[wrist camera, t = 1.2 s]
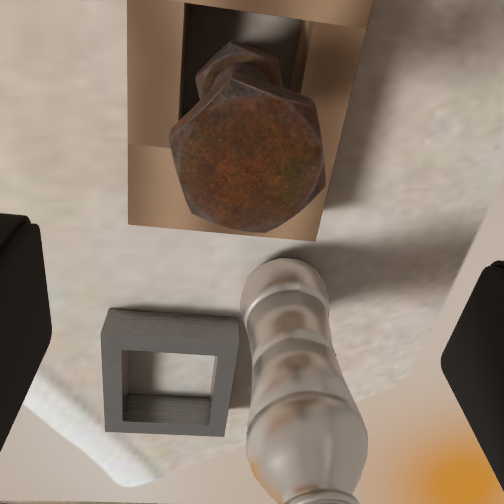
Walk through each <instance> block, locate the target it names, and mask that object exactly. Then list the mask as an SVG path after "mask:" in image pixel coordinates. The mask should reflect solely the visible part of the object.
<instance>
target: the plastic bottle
mask: <svg viewBox="0 0 504 504" xmlns="http://www.w3.org/2000/svg"><path fill="white" fill-rule="evenodd" d="M240 310H241V314H242V319H243V322H244V326H245V329H246V331H247V334H248V340H249V346H250V352H251V358H252V394H251V403H250V411H249V419H248V427H247V428H248V430H247V441H246V455H247V458H248V461H249V463H250V466H251V469H252V472H253V474H254V476H255V478H256V479H257V480H258V482H259V483H260V484H261V485H262V487H263V488H264V489H265V490H266V492H267V493H268V494H269V495H270V496H271V497H272V498H273V499H274V500H275V501H276V502H277V503H278V504H359V502H358V500H357V499H356V498H355V497H354V496H353V495H352V494H353V492H354V490H355V488H356V485H357V483H358V481H359V479H360V477H361V474H362V471H363V468H364V465H365V462H366V458H367V448H368V447H367V446H368V436H367V430H366V427H365V425H364V422H363V419H362V417H361V414H360V412H359V410H358V408H357V406H356V404H355V402H354V400H353V397H352V395H351V393H350V391H349V389H348V387H347V385H346V383H345V380H344V378H343V375H342V372H341V369H340V366H339V363H338V360H337V358H336V354H335V351H334V348H333V345H332V339H331V332H330V326H329V299H328V291H327V288H326V285H325V283H324V282H323V280H322V278H321V277H320V275H319V274H318V272H317V271H316V270H315V269H314V268H313V267H312V266H311V265H309V264H307V263H306V262H304V261H300V260H297V259H290V258H279V259H275V260H271V261H269V262H266V263H265V264H263V265H261V266H260V267H258V268H257V269H255V270H254V271H253V272H252V273H251V274H250V275H249V277H248V278H247V280H246V282H245V284H244V287H243V291H242V296H241V300H240Z"/></svg>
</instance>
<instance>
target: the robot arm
mask: <svg viewBox="0 0 504 504" xmlns="http://www.w3.org/2000/svg"><path fill="white" fill-rule="evenodd" d="M51 334H52V324H51V316H50V308H49V300H48V292H47V283H46V275H45V267H44V259H43V251H42V242H41V234H40V228H39V226H38V225H37V224H31V222H30V220H29V218H28V217H27V216H24V215H13V214H3V213H0V451H1V449H2V447H3V445H4V443H5V440H6V438H7V436H8V434H9V431H10V429H11V427H12V425H13V423H14V421H15V418H16V416H17V414H18V412H19V410H20V407H21V405H22V403H23V401H24V399H25V396H26V394H27V392H28V390H29V388H30V385H31V383H32V381H33V379H34V377H35V374H36V372H37V370H38V368H39V366H40V363H41V361H42V359H43V357H44V355H45V353H46V350H47V348H48V346H49V343H50V340H51ZM441 368H442V371H443V373H444V375H445V377H446V379H447V381H448V383H449V385H450V387H451V389H452V391H453V393H454V394H455V397H456V398H457V401H458V402H459V404H460V406H461V408H462V410H463V412H464V414H465V416H466V418H467V420H468V422H469V424H470V426H471V428H472V430H473V432H474V434H475V436H476V438H477V440H478V442H479V444H480V446H481V448H482V450H483V452H484V454H485V455H486V457H487V459H488V461H489V463H490V465H491V467H492V469H493V471H494V473H495V475H496V477H497V479H498V481H499V483H500V485H501V487H502V489H503V491H504V261H499V260H498V261H495V262H494V263H492V264H491V266H488V267H486V268H485V269H484V270H483V271H482V273H481V275H480V277H479V279H478V281H477V283H476V285H475V287H474V289H473V292H472V294H471V296H470V298H469V300H468V302H467V304H466V306H465V308H464V310H463V312H462V314H461V316H460V319H459V321H458V322H457V325H456V327H455V329H454V331H453V333H452V335H451V337H450V339H449V341H448V343H447V345H446V347H445V350H444V352H443V354H442V357H441ZM0 504H155V503H118V502H117V503H116V502H115V503H114V502H73V501H71V502H70V501H0Z"/></svg>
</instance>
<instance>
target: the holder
mask: <svg viewBox="0 0 504 504" xmlns="http://www.w3.org/2000/svg"><path fill="white" fill-rule="evenodd" d="M238 348H239V323H238V318H234V317H220V316H206V315H192V314H178V313H164V312H150V311H136V310H122V309H109V310H108V313H107V316H106V319H105V322H104V325H103V328H102V331H101V352H102V373H103V394H104V415H105V432H124V433H147V434H171V435H194V436H218V437H224V434H225V428H226V422H227V416H228V410H229V403H230V397H231V391H232V385H233V379H234V372H235V366H236V360H237V354H238ZM128 350H133V351H149V352H165V353H181V354H198V355H214V356H215V362H214V370H213V377H212V385H211V393H210V398H195V397H175V396H156V395H136V394H128Z"/></svg>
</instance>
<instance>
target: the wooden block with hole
mask: <svg viewBox="0 0 504 504" xmlns="http://www.w3.org/2000/svg"><path fill="white" fill-rule="evenodd" d="M189 3H192V4H198V5H205V6H212V7H219V8H226V9H233V10H239V11H246V12H253V13H260V14H267V15H274V16H280V17H287V18H294V19H301V20H302V21H301V27H300V32H299V38H298V44H297V50H296V56H295V61H294V67H293V73H292V79H291V85H290V91H292V92H295V93H298V94H301V95H304V96H307V97H310V98H312V100H313V102H314V104H315V105H316V108H317V114H318V119H319V124H320V130H321V137H322V144H323V153H324V162H325V171H326V186H325V188H324V189H323V190H322V191H321V192H320V193H319V194H318V195H317V196H316V198H315V199H314V200H313V201H312V202H311V203H310V204H308V205H307V206H306V207H305V208H304V209H303V210H302V211H301V212H299V213H298V214H297V215H295V216H294V217H292V218H291V219H290V220H288V221H287V222H285V223H284V224H282V225H281V226H279V227H277V228H275V229H273V230H271V231H269V232H267V233H251V232H244V231H239V230H234V229H230V228H226V227H222V226H219V225H216V224H214V223H211V222H209V221H206V220H204V219H202V218H200V217H198V216H196V215H194V214H192V213H191V211H190V209H189V207H188V205H187V202H186V200H185V197H184V194H183V191H182V188H181V185H180V182H179V179H178V176H177V173H176V169H175V165H174V161H173V157H172V153H171V148H170V143H169V139H168V138H169V134H170V131H171V128H172V127H173V126H174V125H175V124H176V123H177V122H178V121H179V120H180V119H181V118H182V117H183V102H184V85H185V67H186V50H187V32H188V14H189ZM372 4H373V0H127V82H128V224H129V225H140V226H151V227H162V228H173V229H184V230H194V231H205V232H216V233H227V234H238V235H249V236H260V237H271V238H282V239H293V240H304V241H314V242H315V241H316V237H317V233H318V229H319V224H320V220H321V216H322V212H323V208H324V204H325V200H326V195H327V191H328V187H329V183H330V179H331V175H332V170H333V166H334V162H335V158H336V154H337V150H338V145H339V141H340V137H341V133H342V129H343V125H344V120H345V116H346V112H347V108H348V104H349V100H350V95H351V91H352V87H353V83H354V79H355V75H356V70H357V66H358V62H359V58H360V54H361V50H362V46H363V41H364V37H365V33H366V29H367V25H368V21H369V16H370V12H371V8H372Z"/></svg>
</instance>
